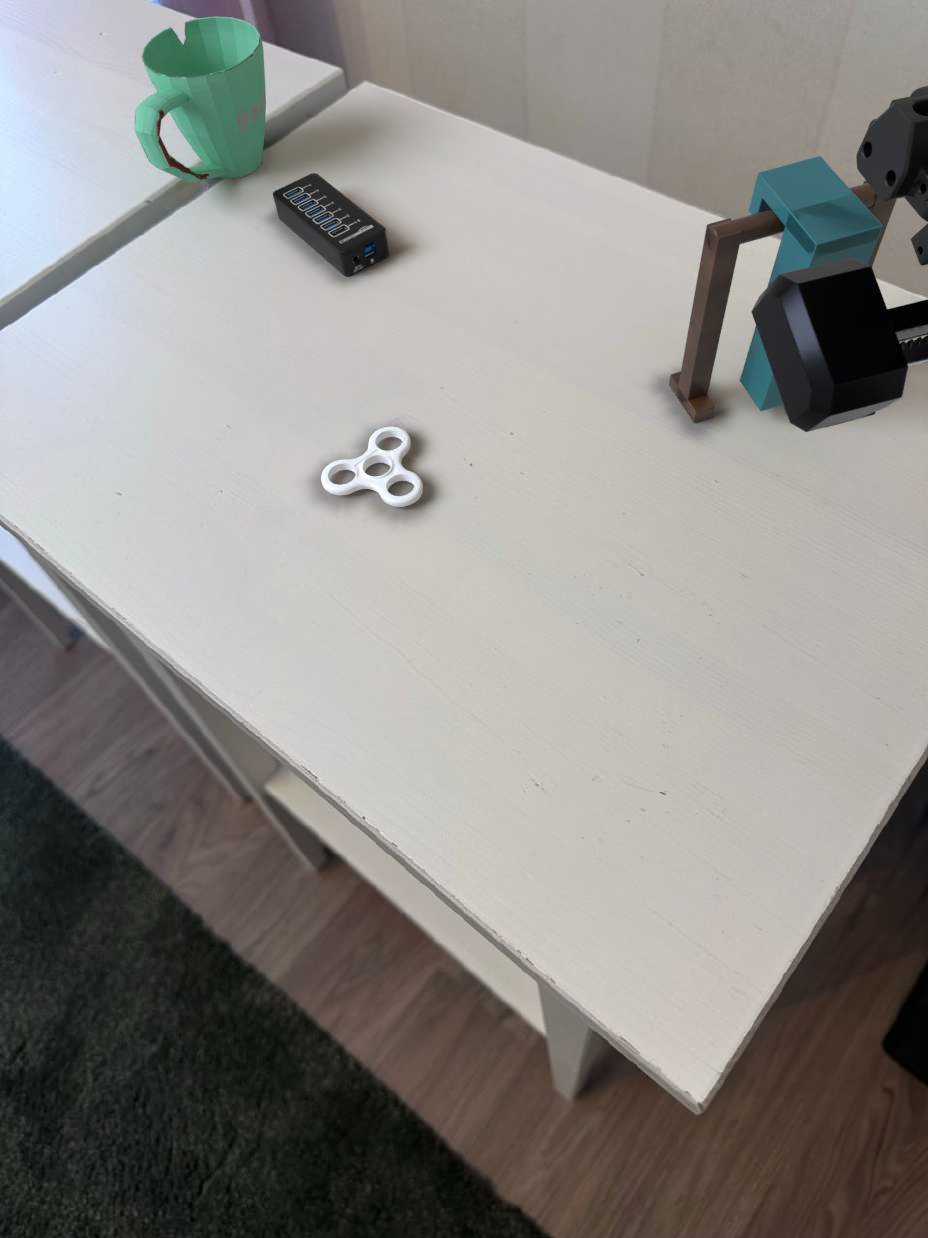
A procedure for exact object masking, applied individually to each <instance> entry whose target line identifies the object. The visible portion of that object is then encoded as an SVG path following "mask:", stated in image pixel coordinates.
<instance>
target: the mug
mask: <svg viewBox="0 0 928 1238" xmlns="http://www.w3.org/2000/svg"><path fill="white" fill-rule="evenodd" d="M257 28H258V27H257V26H254V25H253V24H252V23H250V22H248V21H246V20H244V19H240V18H236V17H232V16H207V17H198V18H194V19H190V20H186V21H185V23H184V36H185V38H184V41H183V43H182V41H181V39H180V38H179V36H178V34H177V33H176V32H175V30H173V28H172V27H171V26H170V27H167V28H165V29H163V30H162V31H160V32H158V33H157V34H156V35H155V36H153V37H151V39H150V40H149V41H148V42H147V44H145V46H144V47H143V50H142V54H141V61H142V64H143V67H144V68H145V71H146V73H147V75H148V78H149V80H150V82H151V84H152V85H153V87H154V88H155V91H156V92H154V93H153V94H150V95H148V96H147V97H146V98H144V99H143V100H142V102H140V103H139V104H138V105H137V106H136V107H135V109H134V125H133V126H134V132H135V135H136V137H137V139H138V140H139V143H140V145H141V147H142V149H143V152H144V153H145V156H146V158H147V160H148V162H149V163H150V164H151V165H152V166H154V167H155V168H156V169H158V170H160V171H163V172H165V173H167V174H169V175H171V176H174V177H177V178H178V179H180V180H183V181H185V182H187V183H191V184H193V183H194V184H195V183H196V184H197V183H200V182H204V181H208V180H212V179H216V178H220V179H227V180H230V179H231V180H233V179H240V178H243V177H246V176H249V175H250V174H252V173H254V172H255V171H257V170H258V169H259V168H260V166H261V164H262V163H263V162H262V161H263V152H264V144H265V136H266V135H265V133H266V114H267V94H266V93H267V91H266V71H265V55H264V53H265V52H264V45H263V40H262V35H261V34H260V32H259V30H258V29H257ZM168 114H170V116H171V118H172V120H173V122H174V123H175V125H176V127H177V128H178V130H179V132H180V133H181V134H182V137H184V139H185V140H186V142H187V143H188V144H189V146H190V147H191V149H192V150H193V152H194V153H195V154H196V155H197V157H198V158H199V159H200V160H201V162H202V163H203V164H199V165H198V164H197V165H194V166H193V165H192V166H189V167H188V166H186V165H184V164H183V163H181V162H180V161H179V160H177V159H176V158H175V157H174V156H172V155H171V154H170V153H169V152H168V150H167V148H166V146H165V144H164V141H163V139H162V137H161V126H162V120H163V119H164V118H165V117H166V116H167V115H168Z"/></svg>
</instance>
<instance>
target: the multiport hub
mask: <svg viewBox="0 0 928 1238" xmlns="http://www.w3.org/2000/svg"><path fill="white" fill-rule="evenodd" d="M272 197H273V201H274V205H275V208H276V212H277V217H278V219H279V221H280V222H282V223H283V224H284V225H285V226H286V227H288V229H290V231H292V232H293V233H294V234H296V236H298V237H299V238H300V239H301V240H303V242H304V243H306V244H307V245H308V246H309V247H310V248H312V249H313V251H315V252H316V253H317V254H318V255H320V257H322V258H323V259H324V260H326V261H327V263H329V264H330V265H331V266H332V267H333V268H334V269H336V270H337V271H338V272H339V273H340V274H341V275H343V276H344V277H352V276H354V275H355V274H357V273H359V272H362V271H363V270H365V269H367V268H369V267H371V266H373V265H374V264H376V263H378V262H380V261H382V260H384V259H386V258H388V257H389V256H390V250H389V249H390V248H389V243H388V236H387V235H388V234H387V228H386V227H385V226H383V225H382V224H381V223H380V222H379V221H377V220H376V219H375V218H373V217H372V216H371V215H370V214H368V213H367V211H365V210H363V209H362V208H361V207H360V206H359V205H357V204H356V203H355V202H354V201H352V200H351V199H350V198H348V197H347V196H346V195H344V193H342V192H341V191H340V190H339V189H337V188H336V187H334V186H333V185H332V184H331V183H330V182H329V181H327V180H326V179H324V178H323V177H322V176H321V175H320V174H318V173H316V172H312V173H309V174H307V175H304V176H303V177H300V178H298V179H297V180H294V181H293V182H290V183H288V184H286V185H284V186H282V187H280V188H277V189H276V190H274V191H273V192H272Z"/></svg>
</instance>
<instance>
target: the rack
mask: <svg viewBox="0 0 928 1238" xmlns="http://www.w3.org/2000/svg"><path fill="white" fill-rule="evenodd" d="M848 188H849V189H850V190H851V191H852V192H853V193H854V194H855V195H856V196H857V197H858V198H859V199H860V201H861V202H862V203H863V204H864V205H865V206H866V207H867V208H868V210H869V211H870V212H871V213H872V214H873V215H874V216H875V217H876V218H877V220H878V221H879V222H880V223H881V224H882V225H883V227H882V230H881V232H880V235H879V237H878V240H877V242H876V245H875V247H874V249H873V252H872V254H871V257H870V259H869V262H868V264H867V265H870V266H872V267H873V266H874V263H875V260H876V257H877V255H878V253H879V249H880V246H881V244H882V241H883V238H884V236H885V233H886V229H887V227H888V225H889V222H890V219H891V216H892V214H893V211H894V209H895V205H896V203H897V200H898V199H894V200H890V201H882V200H881V199H880V197H879V196H878V195H877V194H876V192H875V191H874V190H873V188H872V187H871V186H870V185H869V183H868V182H867V181H866V180H864V181H863V183H862V184H858V185H854V186H851V187H848ZM784 229H785V225H784V224H783V223H782V222H781V220H780V219H779V218H778V217H777V215H776V214H775V213H774V212H773V210H772V209H770V210H767V211H763V212H759V213H756V214H749V215H744V216H741V217H738V218H734V219H732V218H731V217H729V218H725V219H721V220H718V221H714V222H711V223H707V224H706V226H705V233H704V238H703V245H702V250H701V256H700V261H699V267H698V272H697V278H696V283H695V290H694V296H693V301H692V308H691V313H690V316H689V317H690V319H689V324H688V329H687V334H686V341H685V345H684V353H683V358H682V362H681V370H680V371H677V372H674V373H670V374H669V381H668V386H669V387H670V389H671V390H672V392H673V394H674V395H675V396H676V399H678V401H679V403H680V404H681V406H682V407H683V408H684V411H686V413H687V415H688V417H690V419H691V421H692V422H693V423H694V424H695V423H698V422H701V421H705V420H708V419H711V418H714V417H715V412H716V409H717V406H716V405H715V403H714V402H713V400H712V399H711V397H710V396H709V390H710V384H711V380H712V377H713V376H712V375H713V371H714V367H715V362H716V357H717V352H718V348H719V344H720V343H719V342H720V339H721V333H722V329H723V324H724V320H725V315H726V310H727V306H728V300H729V296H730V291H731V287H732V283H733V277H734V273H735V268H736V264H737V260H738V254H739V250H740V246H741V245H744V244H747V243H751V242H754V241H757V240H761V239H765V238H769V237H772V236H776V235H779V234H783V232H784Z"/></svg>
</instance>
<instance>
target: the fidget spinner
mask: <svg viewBox="0 0 928 1238" xmlns="http://www.w3.org/2000/svg"><path fill="white" fill-rule="evenodd" d="M387 438H397V439H399V440H400V441H401V443H400V445H399V446H398V447H397V448H394V449H391V450H385V449H381V448H380V447H378V445H379V444H380V442H381V441H382V440H384V439H387ZM411 445H412V441H411V437H410V435H409V433H408V432H407V431H406V430H405V429H403V428H402V427H398V426H384V427H381V428H379V429H377V430H375V431H374V432H373V433H372V435H371V436H370V437H369V439H368V446H367V447H368V448H367V449H366V451H365V452H364V453H363V454H362V455H360V456H358V457H356V458H355V457H354V458H350V459H348V458H347V459H345V458H343V459H338V460H334V461H332V462H330V463H329V464H328V465H326V466H325V468H324V469H323V470H322V472H321V476H320V481H321V484H322V487H323V489H325V491H326V492H328V493H329V494H331V495H334V496H347V495H351V494H353V493H355V492H358V491H360V490H372V491H374V492H376V493H377V494H379V496H380V497H381V499H382V501H383V502H384V503H385V504H387V505H389V506H391V507H395V508H405V507H407V506H411V505H413V504H414V503H416V502H417V501H419V499H420V498H421V496H422V494H423V491H424V485H423V481H422V478H421V477H420V476H419V475H418V474H417V473H415V472H413V471H410V470H409V469H407V468H405V467H404V466H403V464H402V461H403V458H404V457H405V456H406V455H407V454H408V452H409V451H410V449H411ZM376 464H385V465H388V467H390V468H389V470H387V471H386V472H385V473H384V474H381V475H377V476H376V475H374V476H373V475H371V474H368V473H366V472H367V470H368V468H370V467H371V466H372V465H376ZM340 471H350V472H353V473H354V474H355V476H354V477H353V479H352V480H350V481H349V482H347V483H344V484H337V483H333V482H332V481H331V478H332V477H333V476H334V474H336V473H337V472H340ZM398 482H408V483H410V484H412V485H413V489H412V490H411V491H410V492H409V493H407V494H404V495H394V494H392V493H390V492H389V489H390V487H391V486H392V485H394V484H395V483H398Z"/></svg>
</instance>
